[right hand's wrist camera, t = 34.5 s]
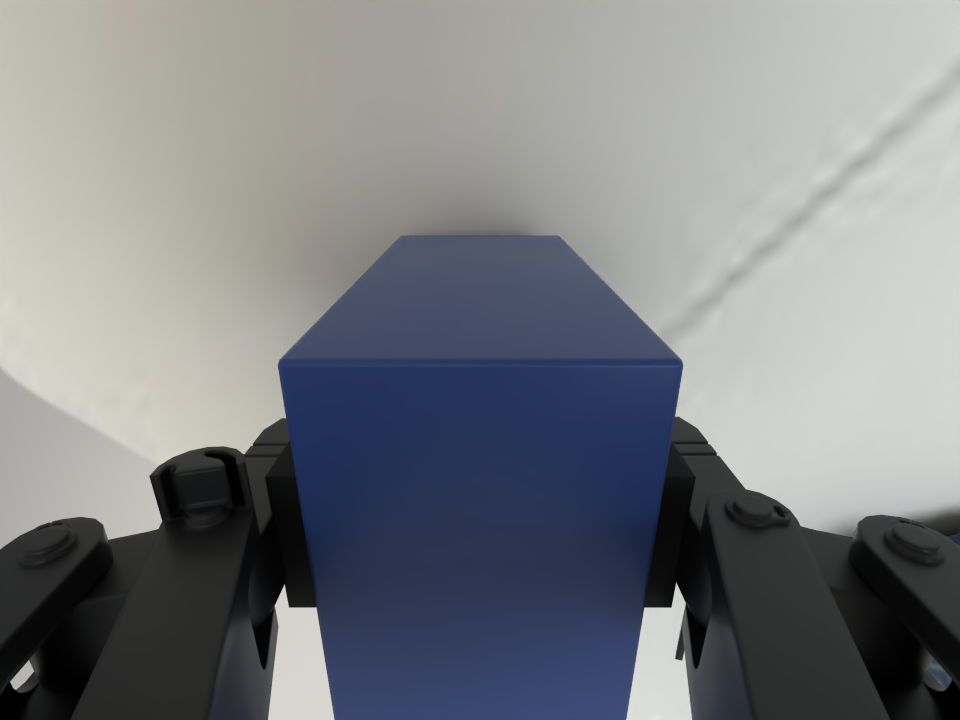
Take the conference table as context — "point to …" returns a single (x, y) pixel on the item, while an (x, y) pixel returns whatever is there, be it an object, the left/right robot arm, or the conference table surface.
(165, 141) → the conference table surface
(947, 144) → the conference table surface
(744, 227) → the conference table surface
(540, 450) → the brick
